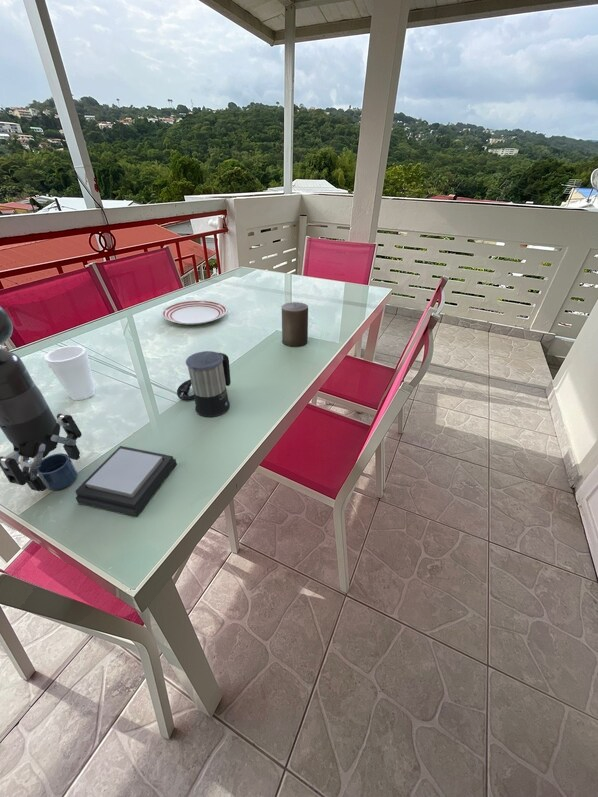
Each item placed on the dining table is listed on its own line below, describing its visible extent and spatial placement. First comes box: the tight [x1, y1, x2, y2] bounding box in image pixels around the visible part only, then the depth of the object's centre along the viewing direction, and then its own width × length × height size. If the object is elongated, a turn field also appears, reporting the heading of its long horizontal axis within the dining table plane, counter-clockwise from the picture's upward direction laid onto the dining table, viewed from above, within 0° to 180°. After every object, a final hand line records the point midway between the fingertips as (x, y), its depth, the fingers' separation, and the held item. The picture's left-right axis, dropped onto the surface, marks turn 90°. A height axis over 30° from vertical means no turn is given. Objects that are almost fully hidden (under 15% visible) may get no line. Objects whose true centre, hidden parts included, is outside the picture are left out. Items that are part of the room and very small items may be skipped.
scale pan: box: [86, 449, 163, 498], centre depth 66 cm, size 10×10×1 cm
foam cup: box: [43, 345, 96, 401], centre depth 91 cm, size 10×9×13 cm
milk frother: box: [176, 350, 232, 418], centre depth 88 cm, size 14×16×15 cm
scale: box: [74, 445, 178, 518], centre depth 67 cm, size 14×13×3 cm
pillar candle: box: [280, 301, 309, 348], centre depth 121 cm, size 10×10×15 cm
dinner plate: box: [161, 299, 228, 326], centre depth 144 cm, size 27×27×3 cm
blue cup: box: [37, 452, 78, 491], centre depth 67 cm, size 6×6×5 cm
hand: (59, 473), depth 67 cm, fingers open, 8 cm apart
